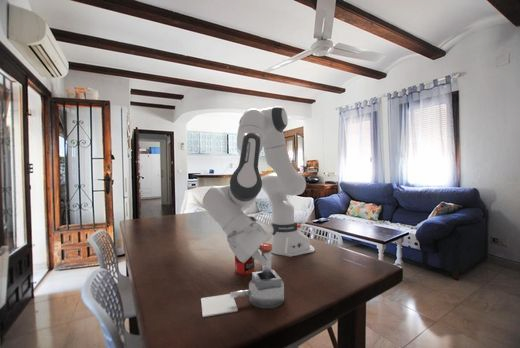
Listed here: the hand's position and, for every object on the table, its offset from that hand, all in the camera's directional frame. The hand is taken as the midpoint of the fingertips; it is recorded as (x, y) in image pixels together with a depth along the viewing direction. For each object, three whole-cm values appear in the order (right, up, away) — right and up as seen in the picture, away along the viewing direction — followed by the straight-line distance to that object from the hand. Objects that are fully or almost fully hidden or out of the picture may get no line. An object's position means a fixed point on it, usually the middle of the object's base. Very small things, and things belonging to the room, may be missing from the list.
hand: (268, 260), depth 79 cm
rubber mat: (-15, -12, -3) cm, 20 cm away
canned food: (-9, -12, +22) cm, 27 cm away
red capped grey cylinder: (-1, -6, 0) cm, 6 cm away
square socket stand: (-3, -12, 0) cm, 13 cm away
